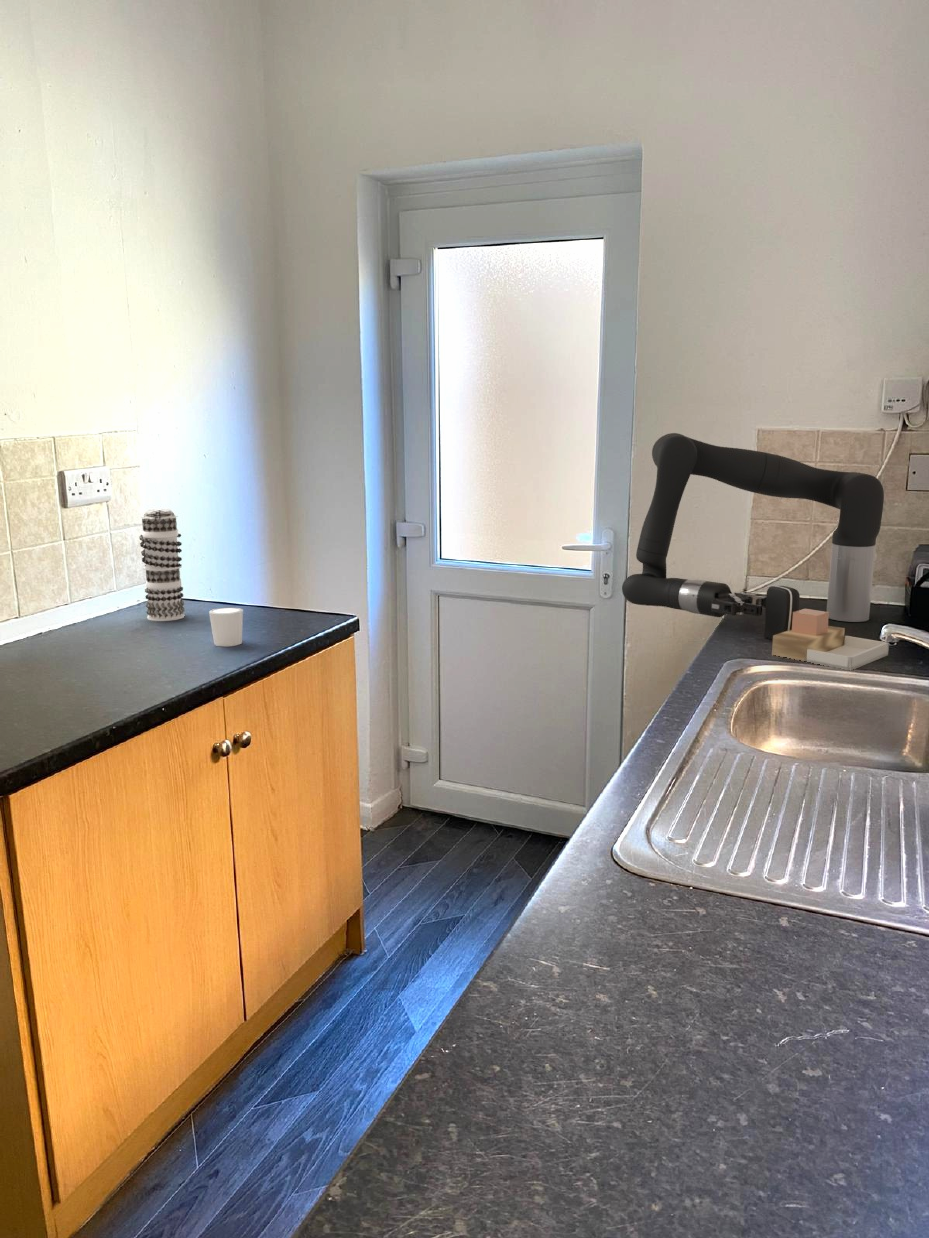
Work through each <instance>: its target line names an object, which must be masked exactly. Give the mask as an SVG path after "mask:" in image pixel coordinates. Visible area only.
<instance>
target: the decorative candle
mask: <svg viewBox="0 0 929 1238" xmlns="http://www.w3.org/2000/svg"><path fill="white" fill-rule="evenodd" d="M177 518H178V516H177V515H175V513H174V512H173V510H171V509H163V508H162V509H160V508H159V509H148V510H146V511H145V512H144V515H143V516H140V519H141V524H142V531H141V534H140V535H139V536H138V537H139V540H140V541H141V542H139V547H141V548H142V549H143V550H142V551H141V552H140V553H141V556H142V558H141V562H142V563H144V564H145V565H144V566H143V570H144V571H145V576H146V577H145V578H146V579H145V587H146V588H145V589H144V593H146V595H145V599H146V600H147V602H146V603H145V606H146V608H147V609H146V611H145V612H146V614H147V618H146V619H147V621H148V620H149V621H152V622H169V621H177V620H180V619H183V618H185V617H184V616H185V614H184V612H185V607H184V605H185V601H184V600H183V599H182V598H183V597H184V593H183V590H184V587H183V586H182V579H181V571H180V569H181V568H182V564H181V563H180V562H181V561H182V560H183V558H182V557H180V556H179V554H180V553H182V549H181V548H180V546H182V544H183V543H182V542H181V541H178V538H180V537H181V536H182V534H181V533H179V529H178V528H177V525H178V524H177Z"/></svg>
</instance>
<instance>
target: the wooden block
mask: <svg viewBox="0 0 929 1238" xmlns="http://www.w3.org/2000/svg"><path fill="white" fill-rule="evenodd" d="M845 629H846V628H845V627H838V626H832V625H828V631H827V632H826V633H823V634H820V635H817V636H813V635H807V634H801V633H795V632H792V630H789V631H785V632H782V633H779V634H776V635H773V640H772V647H771V656H773V655H776V656H775V657H778V656H780V657H779V658H783V657H787V658H786V659H789V658H791V659H790V660H794V659H795V661H799V660H801V661H800V662H804V661H806V659H807V649H811V650H817V651H822V652H827V651H830V650H833V649H836V648H838V647H841V646H844V642H845Z"/></svg>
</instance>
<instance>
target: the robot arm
mask: <svg viewBox="0 0 929 1238" xmlns="http://www.w3.org/2000/svg"><path fill="white" fill-rule="evenodd" d="M651 456H652V461H653V463H654V465H655V466H656V481H655V487H654V491H653V495H652V496H653V497H652V500H651V504H650V506H649V508H648V511H647V513H646V516H645V518H644V521H643V523H642V524H643V525H642V527H641V531H640V535H639V540H638V544H637V549H636V555H635V557H636V560H637V561H638V562H639V563H641V564H642V572H641V573H634V574H632V575H629V576H628V577H626V578H625V579H624V581H623V582H622V585H621V593H622V596H623V597H624V598H625V600H627V601H628V602H629V603H631V604H634V605H638V606H639V605H640V606H648V607H649V606H653V607H665V608H670V609H673V610H679V611H685V612H689V613H690V614H691V613H692V614H697V615H702V616H703V615H704V616H708V617H709V616H710V617H714V618H722V617H724V616H725V615H730V616H737V615H740V616H742V615H750V616H756V617H761V615H762V614H763V609H766V595H767V593H755V592H749V591H744V592H741V591H734V593H733V592H732V590H731V588H730V587H729V585H728V584H726V583H724V582H718V581H717V582H716V581H710V580H702V579H687V578H680V577H667V557H668V553H669V551H670V550H669V549H670V545H671V541H672V538H673V537H672V536H673V532H674V528H675V524H676V519H677V515H678V510H679V507H680V503H681V501H682V498H683V495H684V492H685V490H686V486H687V484H688V482H689V480H690V477H691V475H693V476H699V477H705V478H710V479H713V480H715V481H718V482H720V483H723V484H725V485H727V486H731V487H734V488H737V489H739V490H743V491H745V492H750V493H754V494H759V495H764V496H768V497H773V498H781V499H782V498H783V499H799V500H800V499H802V500H809V501H812V502H816V503H820V504H823V505H827V506H829V507H832V508H834V509H838V510H839V517H838V518H839V520H838V524H837V527H836V529H835V530H834V531H833V533H832V538H831V549H830V550H831V551H830V562H829V563H830V564H829V577H828V589H827V590H828V591H827V601H826V612H829V619H830V620H835V621H838V622H839V621H840V622H846V623H847V622H850V623H852V622H853V623H861V622H867V621H869V619H870V610H871V609H870V608H871V599H872V590H873V589H872V588H873V577H874V566H875V554H876V545H877V544H876V543H877V538H878V535H879V533H880V530H881V526H882V519H883V518H882V517H883V510H884V503H885V502H884V501H885V493H884V491H885V490H884V486H883V484H882V483H881V481H880V480H879V479H878V478H877V477H876V476H874V475H872V474H868V473H863V472H856V471H842V470H830V469H822V468H819V467H813V466H811V465H808V464H806V463H803V462H801V461H798V460H797V459H796V460H795V459H792V458H790V457H785V456H783V455H778V454H774V453H769V452H766V451H765V452H764V451H759V450H752V449H747V448H740V447H729V446H719V445H714V444H711V443H707V442H703V441H701V440H697V439H695V438H691V437H689V436H686V435H683V434H680V433H677V432H672V433H666V434H664V435H662V436H661V437H659V438H657V440H656V441H655V442H654V444H653V446H652V449H651Z"/></svg>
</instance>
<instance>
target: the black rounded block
mask: <svg viewBox="0 0 929 1238" xmlns="http://www.w3.org/2000/svg"><path fill="white" fill-rule="evenodd" d="M766 594H767V595H766V608H765V609H764V610H765V613H764V616H765V618H764V632H763V634H764V636H763V637H764V638H767V639H770V640H772V641H773V635H776V634H779V633H782V632H785V631H789V630H792V620H793V612H795V611H799V610H800V607H801V606H800V604H801V602H800V601H801V597H800V592H799V591H798V589H796V588H793V587H790V586H787V585H786V586H785V585H771V586H769V587H768V588H767V590H766Z"/></svg>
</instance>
